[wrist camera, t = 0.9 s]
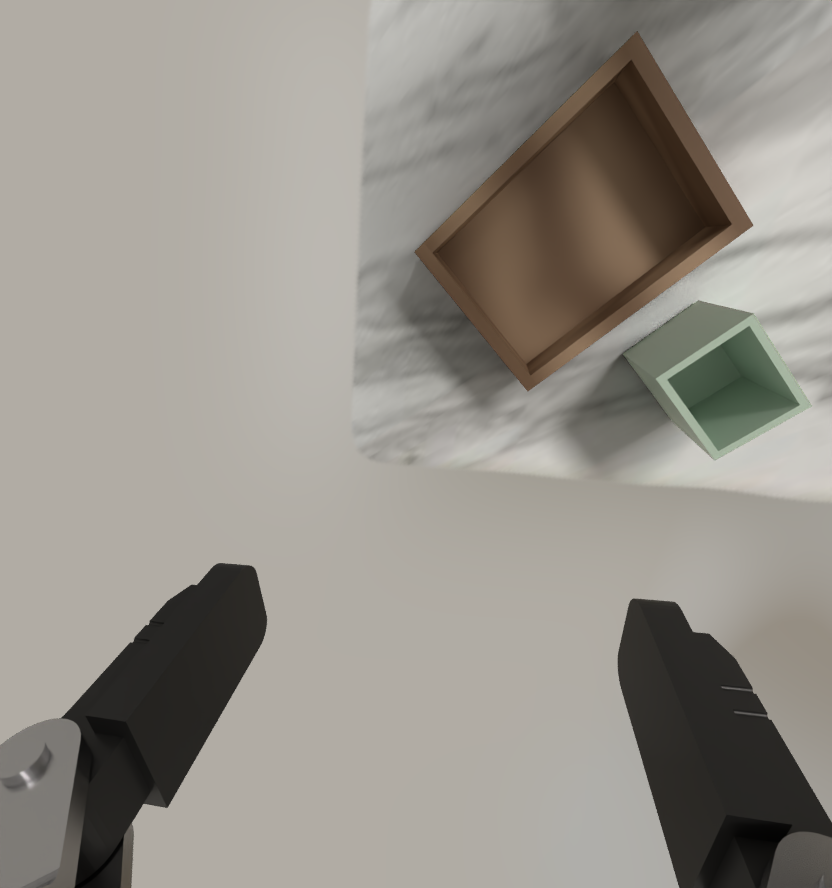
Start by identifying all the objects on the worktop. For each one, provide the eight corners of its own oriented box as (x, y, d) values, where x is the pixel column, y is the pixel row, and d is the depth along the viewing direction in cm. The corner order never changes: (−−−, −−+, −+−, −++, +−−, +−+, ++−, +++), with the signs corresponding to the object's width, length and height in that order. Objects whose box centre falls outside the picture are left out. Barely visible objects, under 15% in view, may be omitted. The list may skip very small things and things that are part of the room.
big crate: (615, 61, 22) (637, 30, 19) (718, 228, 25) (753, 225, 22) (422, 251, 27) (414, 251, 24) (523, 376, 30) (527, 391, 26)
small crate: (698, 300, 26) (753, 313, 21) (747, 375, 28) (812, 406, 22) (622, 353, 28) (655, 378, 23) (672, 421, 29) (714, 460, 24)
